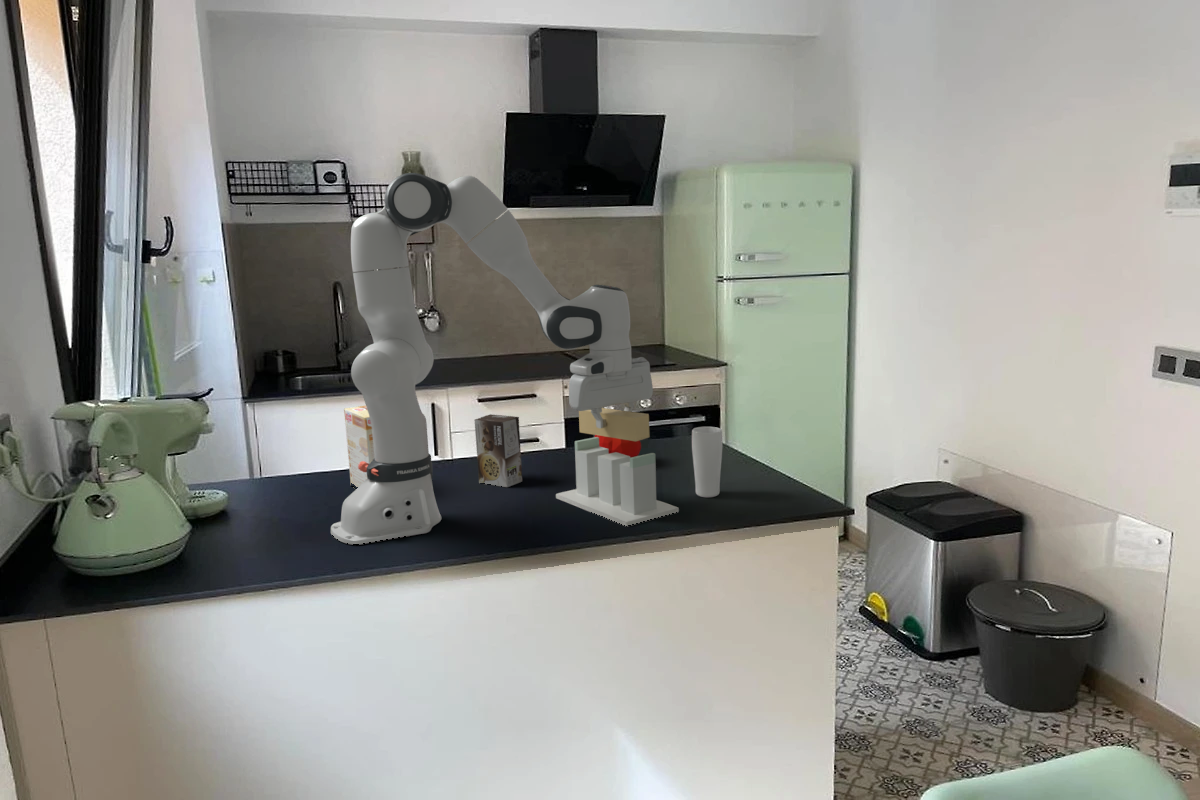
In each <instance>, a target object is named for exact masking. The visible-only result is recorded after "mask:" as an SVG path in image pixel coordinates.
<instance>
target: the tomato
mask: <svg viewBox="0 0 1200 800" xmlns="http://www.w3.org/2000/svg"><path fill="white" fill-rule="evenodd" d="M593 436H594V437H598V438H599V446H600V447H603V448H607V449H608V452H609V454H610V453H615V452H617V453H620V454H624V455H627V456H630V458H631V457H636V456H639V455H640V452H641V449H642V442H641V440H639V441H630V440H624V439H618V438H612V437H605V436H599V435H593ZM594 437H593V438H594Z"/></svg>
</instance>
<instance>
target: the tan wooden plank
mask: <svg viewBox="0 0 1200 800" xmlns="http://www.w3.org/2000/svg"><path fill="white" fill-rule="evenodd" d="M600 415H601V416H602V418H603V419H606V427H604V428H597V427H596V419H595V418H594V416H593V415H592V413H591V410H585V411H578V419H579V420H578V422H579V423H578V424H579V425H578V426H579V427H578V428H579V433H581V434H587V435H593V436H595V435H599V436H605V437H612V438H618V439H624V440H630V441H639V440H640V441H643V440H645V439H648V438H650V415H649V413H644V412H637V411H632V412H629V411H624V410H621V409H613V408H607V407H602V412H601V413H600Z"/></svg>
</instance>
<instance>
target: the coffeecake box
mask: <svg viewBox="0 0 1200 800" xmlns="http://www.w3.org/2000/svg"><path fill="white" fill-rule="evenodd" d="M343 411H344V412H343V413H344V422H345V423H344V424H345V435H346V444H347V445H346V446H347V455H348V456H347V457H348V468H349V479H350V484H351V483H352V484H354V485H355V486H356V487H359V486H360V485H361V484H362V483H363V482H364V481H365V480H366V479H367V472H363V471H361V470H360V469H358V464H360V462H362V461H365V462H366V463H368V464H370V463H371V462H372V461H373V459H374V458H375V457H374V445H373V435H372V426H371V421H370V417H369V413H368V410H367V407H366V405H360V406H359V405H358V406H353V407H345V408H344V409H343Z"/></svg>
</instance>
